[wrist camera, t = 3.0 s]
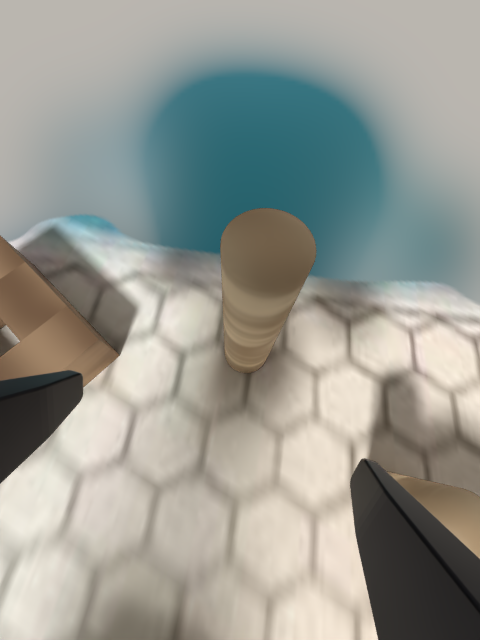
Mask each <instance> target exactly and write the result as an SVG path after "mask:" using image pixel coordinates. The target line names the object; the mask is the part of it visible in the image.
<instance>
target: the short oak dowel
mask: <svg viewBox="0 0 480 640" xmlns="http://www.w3.org/2000/svg"><path fill="white" fill-rule="evenodd" d="M386 472H387V471H386ZM387 473H388V474H390V475H391V476H392V477H393V478H394V479H395V480H396V481H397V482H398V483H399V484H400V485H401V486H402V487H403V488H405V489H406V490H407V491H408V492H409V493H410V494H411V495H412V496H413V497H414V498H415V499H416V500H417V501H418V502H420V503H421V504H422V505H423V506H424V507H425V508H426V509H427V510H428V511H429V512H430V513H431V514H432V515H433V516H435V517H436V518H437V519H438V520H439V521H440V522H441V523H442V524H443V525H444V526H445V527H446V528H447V529H448V530H449V531H451V532H452V533H453V534H454V535H455V536H456V537H457V538H458V539H459V540H460V541H461V542H462V543H463V544H464V545H466V546H467V547H468V548H469V549H470V550H471V551H472V552H473V553H474V554H475V555H476V556H477V557H478V558H479V559H480V497H479V496H477V495H476V494H474V493H473V492H471V491H468V490H466V489H462V488H458V487H453V486H449V485H445V484H440V483H436V482H431V481H427V480H422V479H418V478H414V477H409V476H405V475H400V474H396V473H391V472H387Z"/></svg>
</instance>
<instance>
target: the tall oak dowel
mask: <svg viewBox="0 0 480 640" xmlns="http://www.w3.org/2000/svg"><path fill="white" fill-rule="evenodd" d="M220 248H221V273H222V298H223V322H224V346H225V357H226V360H227V362H228V364H229V365H230V366H231V367H232V368H233V369H234V370H236V371H238V372H241V373H251V372H254V371H257V370H258V369H260V368H261V367H262V366H263V364H264V363H265V361H266V359H267V357H268V355H269V353H270V351H271V349H272V347H273V345H274V343H275V341H276V339H277V337H278V335H279V333H280V331H281V329H282V327H283V325H284V323H285V321H286V319H287V317H288V315H289V313H290V311H291V309H292V307H293V305H294V303H295V301H296V299H297V297H298V295H299V293H300V290H301V288H302V286H303V284H304V282H305V280H306V278H307V276H308V274H309V272H310V270H311V268H312V266H313V264H314V262H315V258H316V244H315V240H314V238H313V235H312V234H311V232H310V230H309V229H308V227H307V226H306V225H305V224H304V223H303V222H302V221H301V220H299V219H298V218H297V217H295V216H293V215H291V214H289V213H287V212H285V211H281V210H278V209H271V208H259V209H253V210H250V211H247V212H244V213H242V214H240V215H238V216H237V217H236V218H234V219H233V220H232V221H231V222H230V223H229V224H228V225H227V227H226V228H225V230H224V232H223V234H222V238H221V245H220Z"/></svg>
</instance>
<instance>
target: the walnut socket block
mask: <svg viewBox="0 0 480 640" xmlns="http://www.w3.org/2000/svg"><path fill="white" fill-rule="evenodd" d="M5 325H7V326H8V327H9V329H10V330H11V331H12V332H13V333H14V334H15V336H16V337H17V338H18V339H19V340H20V342H19V343H18V344H16V345H15V346H14V347H13V348H11V349H10V350H9V351H7V352H6V353H5V354H3V355H2V356H1V357H0V381H1V380H8V379H14V378H21V377H27V376H34V375H40V374H47V373H53V372H60V371H66V370H72V371H76V372H79V373H81V374H82V375H83V387H84V386H86V385H87V384H88V383H89V382H90V381H91V380H92V379H93V378H95V377H96V376H97V375H98V374H99V373H100V372H101V371H103V370H104V369H105V368H106V367H107V366H108V365H109V364H110V363H112V362H113V361H114V360H115V359H116V358H117V357H118V356H120V355H119V354H118V353H117V352H116V351H115V350H114V349H113V348H112V347H111V346H110V344H109V343H108V342H107V341H106V340H105V339H104V338H103V337H102V336H101V335H100V334H99V333H98V332H97V331H96V330H95V329H94V328H93V327H92V326H91V325H90V324H89V323H88V321H87V320H86V319H85V318H84V317H83V316H82V315H81V314H80V313H79V312H78V311H77V310H76V309H75V308H74V307H73V306H72V305H71V304H70V303H69V302H68V301H67V300H66V299H65V297H64V296H63V295H62V294H61V293H60V292H59V291H58V290H57V289H56V288H55V287H54V286H53V285H52V284H51V283H50V282H49V281H48V280H47V279H46V278H45V277H44V276H43V274H42V273H41V272H40V271H39V270H38V269H37V268H36V267H35V266H34V265H33V264H32V263H31V262H30V261H29V260H27V259H26V258H25V257H24V256H23V255H22V254H21V253H20V252H18V251H17V250H16V249H15V248H14V247H13V246H12V245H10V244H9V243H8V242H7V241H6V240H5V239H3V237H1V236H0V329H1V328H2V327H4V326H5Z"/></svg>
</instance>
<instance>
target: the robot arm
mask: <svg viewBox="0 0 480 640" xmlns="http://www.w3.org/2000/svg"><path fill="white" fill-rule="evenodd" d="M82 396H83V375H82V374H81V373H79V372H76V371H72V370H66V371H60V372H53V373H47V374H40V375H34V376H27V377H21V378H14V379H8V380H1V381H0V483H1V482H2V481H3V480H5V479H6V478H7V477H8V476H9V475H10V474H11V473H12V472H13V471H14V470H15V469H16V468H17V467H18V466H19V465H20V464H21V463H22V462H24V461H25V460H26V459H27V458H28V457H29V456H30V455H31V454H32V453H33V452H34V451H35V450H36V449H37V448H38V447H39V446H40V445H41V444H43V443H44V442H45V441H46V440H47V439H48V438H49V437H50V436H51V434H52V433H53V432H54V431H55V430H56V429H57V428H58V427H59V425H60V424H61V423H62V422H63V421H64V420H65V418H66V417H67V416H68V415H69V414H70V413H71V411H72V410H73V409H74V408H75V407H76V406H77V405H78V403H79V402H80V401H81V399H82ZM350 488H351V497H352V507H353V516H354V525H355V533H356V538H357V544H358V548H359V553H360V557H361V562H362V567H363V571H364V576H365V580H366V585H367V590H368V594H369V599H370V604H371V608H372V613H373V617H374V622H375V627H376V631H377V636H378V640H480V559H479V558H478V557H477V556H476V555H475V554H474V553H473V552H472V551H471V550H470V549H469V548H468V547H467V546H466V545H464V544H463V543H462V542H461V541H460V540H459V539H458V538H457V537H456V536H455V535H454V534H453V533H452V532H451V531H449V530H448V529H447V528H446V527H445V526H444V525H443V524H442V523H441V522H440V521H439V520H438V519H437V518H436V517H435V516H433V515H432V514H431V513H430V512H429V511H428V510H427V509H426V508H425V507H424V506H423V505H422V504H421V503H420V502H418V501H417V500H416V499H415V498H414V497H413V496H412V495H411V494H410V493H409V492H408V491H407V490H406V489H405V488H403V487H402V486H401V485H400V484H399V483H398V482H397V481H396V480H395V479H394V478H393V477H392V476H391V475H390V474H388V473H387V472H386V471H385V470H384V469H383V468H382V467H381V466H380V465H379V464H378V463H376V462H375V461H371V460H368V459H362V460H361V461H360V462H359V464H358V466H357V467H356V469H355V471H354V473H353V475H352V477H351V481H350Z"/></svg>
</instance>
